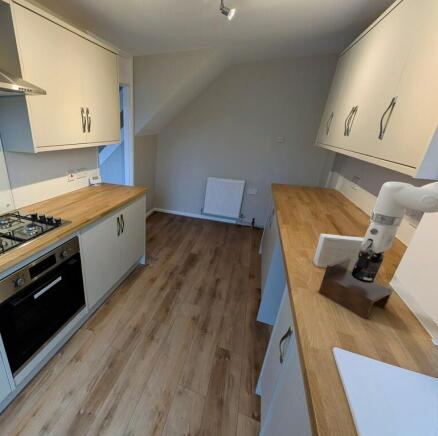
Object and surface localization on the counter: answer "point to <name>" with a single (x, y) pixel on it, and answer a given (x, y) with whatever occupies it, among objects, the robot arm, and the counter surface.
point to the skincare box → (337, 250)
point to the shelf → (352, 289)
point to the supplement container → (371, 271)
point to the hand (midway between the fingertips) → (367, 264)
